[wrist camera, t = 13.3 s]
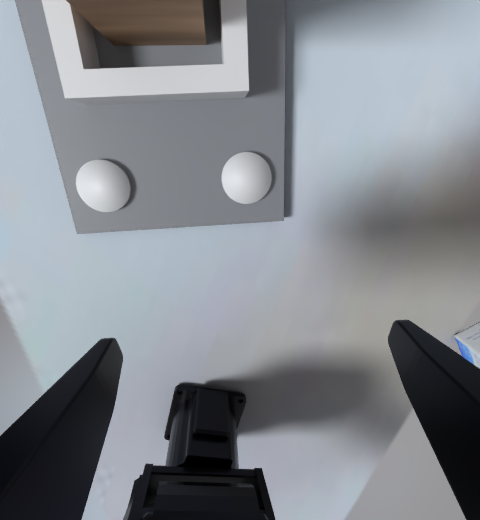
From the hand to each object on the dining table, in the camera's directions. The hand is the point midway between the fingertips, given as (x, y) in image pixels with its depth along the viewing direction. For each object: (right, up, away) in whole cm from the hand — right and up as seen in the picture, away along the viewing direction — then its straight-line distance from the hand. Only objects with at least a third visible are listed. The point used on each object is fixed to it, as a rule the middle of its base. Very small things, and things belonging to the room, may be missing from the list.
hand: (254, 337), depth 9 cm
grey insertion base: (-5, +14, +7) cm, 17 cm away
